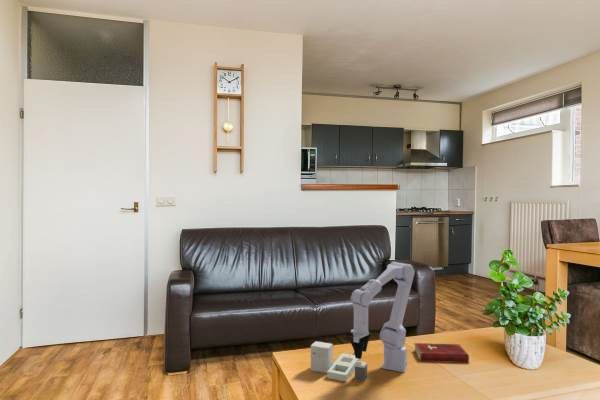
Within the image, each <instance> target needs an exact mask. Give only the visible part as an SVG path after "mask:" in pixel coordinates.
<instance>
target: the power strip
mask: <svg viewBox="0 0 600 400" xmlns="http://www.w3.org/2000/svg"><path fill="white" fill-rule="evenodd" d="M357 361H361V359H357V358H355V353H354V352H353V353H352V354H350V353H343V352H342V353H341V354H340V355H339V357H337V359H335V361H334V362H333V365H332V366H331V367H330V369H329V370H328V371H327V373H326V375H327V376H326V378H327V379H331V380H337V381H339V382H340V381H341V382H346V383H347V381H348V380H349V379H350V378H351V376H352V374H353V373H354V372H355V364H356V363H357Z"/></svg>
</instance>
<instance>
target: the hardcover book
mask: <svg viewBox="0 0 600 400" xmlns="http://www.w3.org/2000/svg"><path fill="white" fill-rule="evenodd" d="M413 344H414V351H415V353H416V355H417V356H418V358H419V361H420V362H444V361H455V362H456V363H470V353H469V352H467V350H466V349H465V348H464V347H463V346H462V345H461V344H459V343H432V342H429V343H427V342H426V343H425V342H413ZM455 362H454V363H455Z"/></svg>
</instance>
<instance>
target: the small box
mask: <svg viewBox="0 0 600 400" xmlns="http://www.w3.org/2000/svg"><path fill="white" fill-rule="evenodd" d="M333 345H334V344H333V343H331V342H323V341H314V342H313V343H312V344H310V371H313V372H318V373H322V374H327V371H328V370H329V369H330V367H331V366H332V365H333V364H334V361H333V359H334V355H333V354H334V353H333V352H334V348H333V347H334V346H333Z"/></svg>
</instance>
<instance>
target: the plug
mask: <svg viewBox="0 0 600 400" xmlns="http://www.w3.org/2000/svg"><path fill="white" fill-rule="evenodd" d="M367 379H368V364H367V362H365V361H361V360H360V361H357V363H356V364H355V370H354V380H355V381H359V382H360V381H361V382H366V381H367Z"/></svg>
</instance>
